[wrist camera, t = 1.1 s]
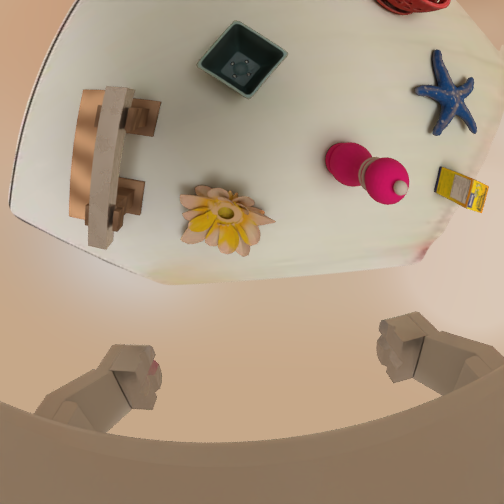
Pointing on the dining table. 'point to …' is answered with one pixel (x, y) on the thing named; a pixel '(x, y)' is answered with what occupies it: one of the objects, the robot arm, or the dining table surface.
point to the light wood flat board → (83, 152)
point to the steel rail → (107, 164)
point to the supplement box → (461, 189)
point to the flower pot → (242, 59)
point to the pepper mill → (368, 172)
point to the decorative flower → (222, 220)
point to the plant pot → (413, 5)
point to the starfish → (448, 96)
